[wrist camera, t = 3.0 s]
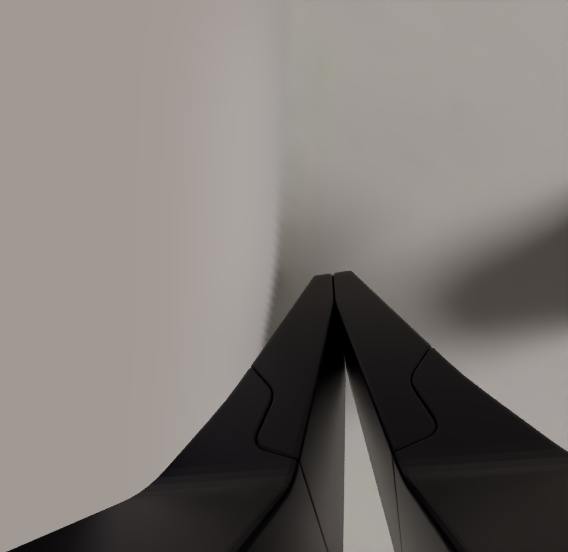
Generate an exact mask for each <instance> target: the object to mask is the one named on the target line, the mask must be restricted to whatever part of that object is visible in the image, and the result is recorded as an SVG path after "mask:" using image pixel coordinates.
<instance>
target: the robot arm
mask: <svg viewBox="0 0 568 552" xmlns="http://www.w3.org/2000/svg"><path fill="white" fill-rule="evenodd" d="M345 364H346V369H347V373H348V378H349V382H350V385H351V389H352V393H353V397H354V400H355V404H356V408H357V412H358V415H359V419H360V423H361V427H362V431H363V434H364V438H365V442H366V446H367V449H368V453H369V457H370V461H371V464H372V468H373V472H374V476H375V480H376V483H377V487H378V491H379V495H380V498H381V502H382V506H383V510H384V513H385V517H386V521H387V525H388V529H389V532H390V536H391V540H392V544H393V547H394V551H395V552H568V451H566V450H564V449H563V448H561V447H560V446H558V445H557V444H556V443H554V442H553V441H551V440H550V439H548V438H547V437H546V436H544V435H543V434H542V433H540V432H539V431H537V430H536V429H535V428H533V427H532V426H531V425H529V424H528V423H527V422H525V421H524V420H523V419H521V418H520V417H518V416H517V415H516V414H514V413H513V412H512V411H510V410H509V409H508V408H506V407H505V406H503V405H502V404H501V403H499V402H498V401H497V400H495V399H494V398H493V397H491V396H490V395H489V394H487V393H486V392H485V391H483V390H482V389H481V388H479V387H478V386H477V385H476V384H474V383H473V382H472V381H470V380H469V379H468V378H467V377H465V376H464V375H463V374H462V373H460V372H459V371H458V370H457V369H456V368H455V367H454V366H453V365H451V364H450V363H449V362H448V361H447V360H446V359H445V358H443V357H442V356H441V355H440V354H439V353H438V352H437V351H436V350H435V349H434V348H432V347H431V345H430V344H429V343H427V342H426V341H425V340H424V339H423V338H422V337H421V336H420V335H419V334H418V333H417V332H416V331H415V330H414V329H413V328H411V327H410V326H409V325H408V324H407V323H406V322H405V321H404V320H403V319H402V318H401V317H400V316H399V315H398V314H397V313H395V312H394V311H393V310H392V309H391V308H390V307H389V306H388V305H387V304H386V303H385V302H384V301H383V300H382V299H381V298H380V297H378V296H377V295H376V294H375V293H374V292H373V291H372V290H371V289H370V288H369V287H368V286H367V285H366V284H365V283H364V282H362V281H361V280H360V279H359V278H358V277H357V276H356V275H355V274H354V273H353V272H352V271H344V272H338V273H335V274H334V275H332V274H324V275H317V276H314V277H313V279H312V280H311V281H310V283H309V284H308V286H307V287H306V289H305V290H304V291H303V293H302V294H301V296H300V297H299V299H298V300H297V301H296V303H295V304H294V306H293V307H292V309H291V310H290V311H289V313H288V314H287V316H286V317H285V319H284V320H283V321H282V323H281V324H280V326H279V327H278V329H277V330H276V331H275V333H274V334H273V336H272V337H271V338H270V340H269V341H268V343H267V344H266V346H265V347H264V348H263V350H262V351H261V353H260V354H259V356H258V357H257V358H256V360H255V361H254V363H253V364H252V366H251V368H250V369H249V370H248V371H247V373H246V374H245V375H244V377H243V378H242V380H241V381H240V382H239V384H238V385H237V386H236V388H235V389H234V390H233V392H232V393H231V394H230V396H229V397H228V398H227V400H226V401H225V402H224V403H223V404H222V406H221V407H220V408H219V409H218V410H217V412H216V413H215V414H214V415H213V416H212V418H211V419H210V420H209V421H208V422H207V423H206V424H205V426H204V427H203V428H202V429H201V430H200V431H199V432H198V433H197V435H196V436H195V437H194V438H193V439H192V440H191V442H189V444H188V445H187V446H186V447H185V448H184V449H183V450H182V452H181V453H180V454H179V455H178V456H177V457H176V458H175V459H174V461H173V462H172V463H171V464H170V465H169V466H168V467H167V468H166V470H165V471H164V472H163V473H162V474H161V475H160V476H159V477H158V478H157V479H156V480H155V481H154V482H152V483H151V484H150V485H149V486H148V487H147V488H145V489H144V490H143V491H141V492H140V493H138V494H137V495H135V496H133V497H132V498H130V499H128V500H126V501H124V502H121V503H119V504H117V505H114V506H112V507H110V508H107V509H105V510H103V511H100V512H98V513H96V514H94V515H91V516H89V517H87V518H84V519H82V520H80V521H77V522H75V523H72V524H70V525H68V526H65V527H63V528H61V529H59V530H56V531H54V532H52V533H49V534H47V535H45V536H42V537H40V538H38V539H35V540H33V541H31V542H28V543H26V544H24V545H21V546H19V547H17V548H14V549H12V550H10V551H7V552H343V522H344V452H345V383H346V374H345Z"/></svg>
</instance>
